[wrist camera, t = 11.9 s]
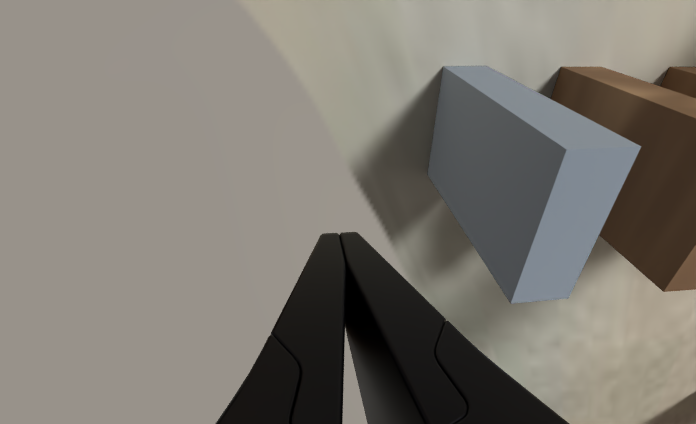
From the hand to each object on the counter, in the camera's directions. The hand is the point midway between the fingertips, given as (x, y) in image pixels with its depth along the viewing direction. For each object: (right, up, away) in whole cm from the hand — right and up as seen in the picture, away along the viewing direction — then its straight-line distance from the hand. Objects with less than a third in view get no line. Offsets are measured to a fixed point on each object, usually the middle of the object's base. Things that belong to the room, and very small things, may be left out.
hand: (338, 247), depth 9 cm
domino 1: (+5, +5, +7) cm, 10 cm away
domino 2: (+10, +5, +8) cm, 14 cm away
